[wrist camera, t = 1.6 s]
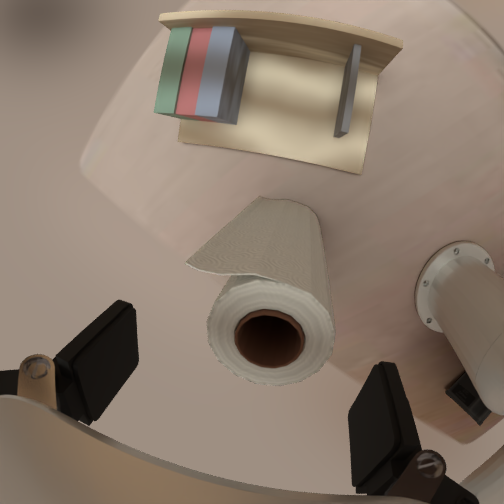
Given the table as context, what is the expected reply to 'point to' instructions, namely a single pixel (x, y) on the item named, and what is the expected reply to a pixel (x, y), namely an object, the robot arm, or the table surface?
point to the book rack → (273, 83)
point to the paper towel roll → (270, 293)
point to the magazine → (468, 399)
